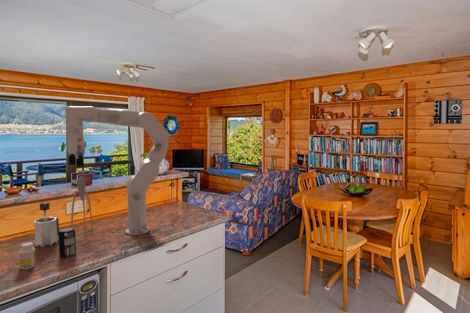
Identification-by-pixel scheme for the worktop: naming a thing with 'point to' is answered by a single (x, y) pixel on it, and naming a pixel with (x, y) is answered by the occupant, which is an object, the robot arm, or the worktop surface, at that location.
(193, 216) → the worktop surface
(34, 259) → the supplement bottle
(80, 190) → the juicer
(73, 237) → the beverage can
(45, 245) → the press carafe
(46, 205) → the grey knobbed rod
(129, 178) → the robot arm
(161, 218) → the worktop surface
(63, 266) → the worktop surface
